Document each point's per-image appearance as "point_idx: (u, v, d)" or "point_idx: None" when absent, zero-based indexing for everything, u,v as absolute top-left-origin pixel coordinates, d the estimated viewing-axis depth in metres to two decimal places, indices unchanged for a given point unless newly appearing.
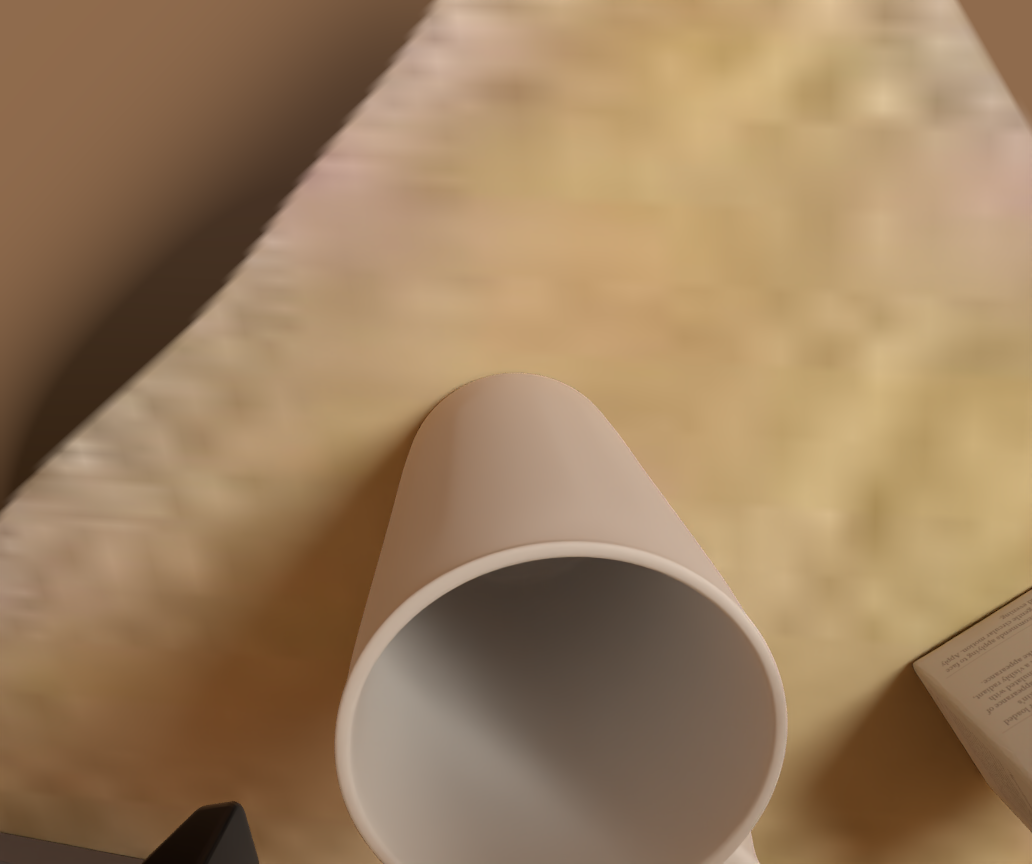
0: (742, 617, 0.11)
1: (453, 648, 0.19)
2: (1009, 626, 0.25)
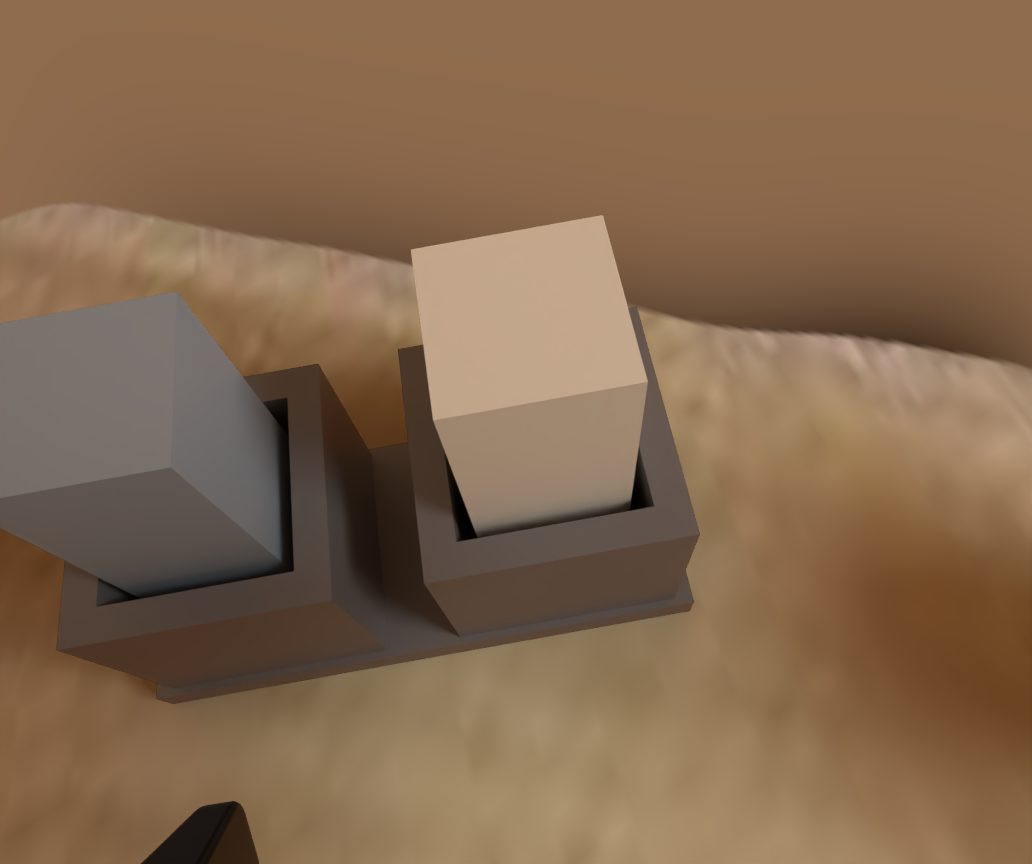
0: None
1: None
2: None
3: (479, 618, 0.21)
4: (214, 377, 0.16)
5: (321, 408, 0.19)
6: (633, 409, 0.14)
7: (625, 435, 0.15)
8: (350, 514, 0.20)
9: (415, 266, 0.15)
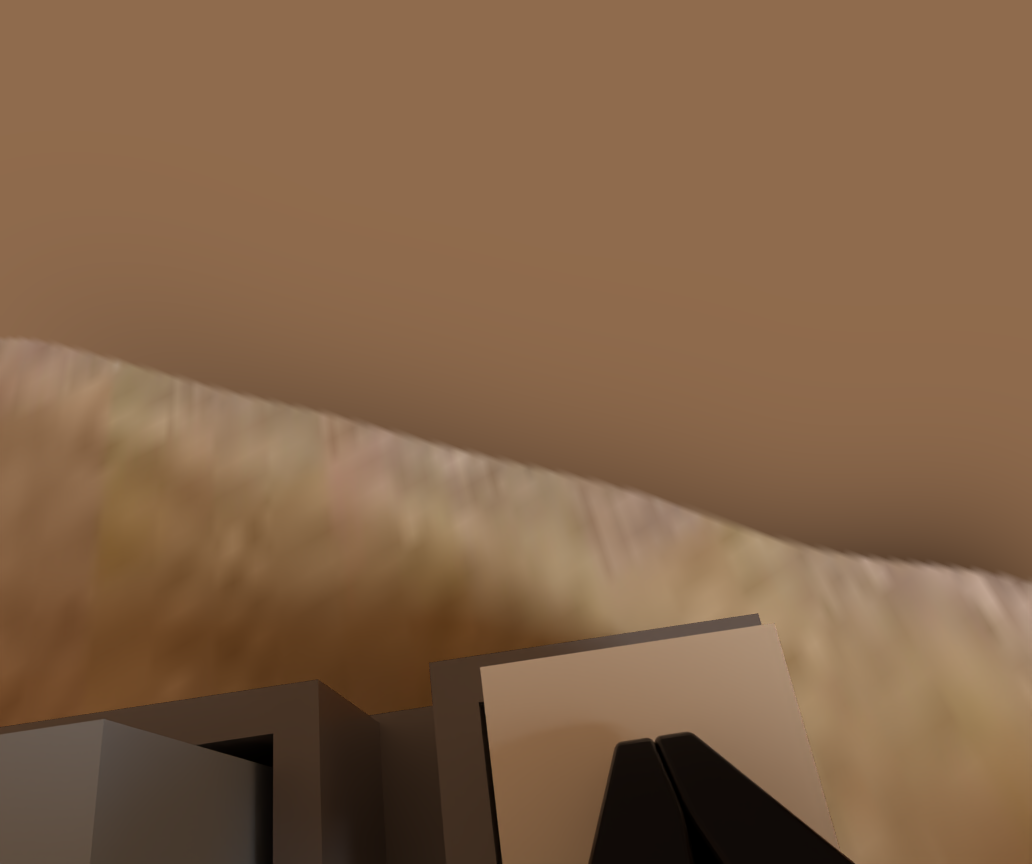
0: None
1: None
2: None
3: None
4: (162, 808, 0.10)
5: (320, 753, 0.14)
6: None
7: None
8: None
9: (487, 701, 0.09)
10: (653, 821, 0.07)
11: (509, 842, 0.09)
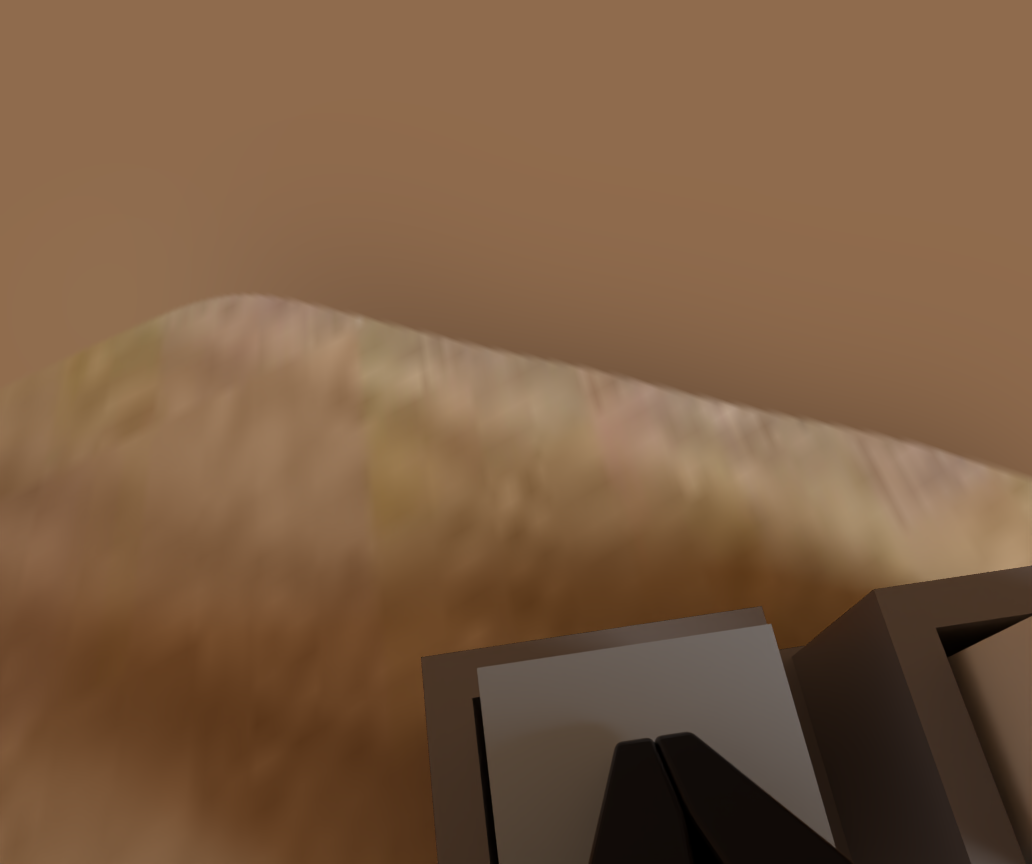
0: None
1: None
2: None
3: None
4: None
5: None
6: None
7: None
8: None
9: None
10: (653, 821, 0.07)
11: None
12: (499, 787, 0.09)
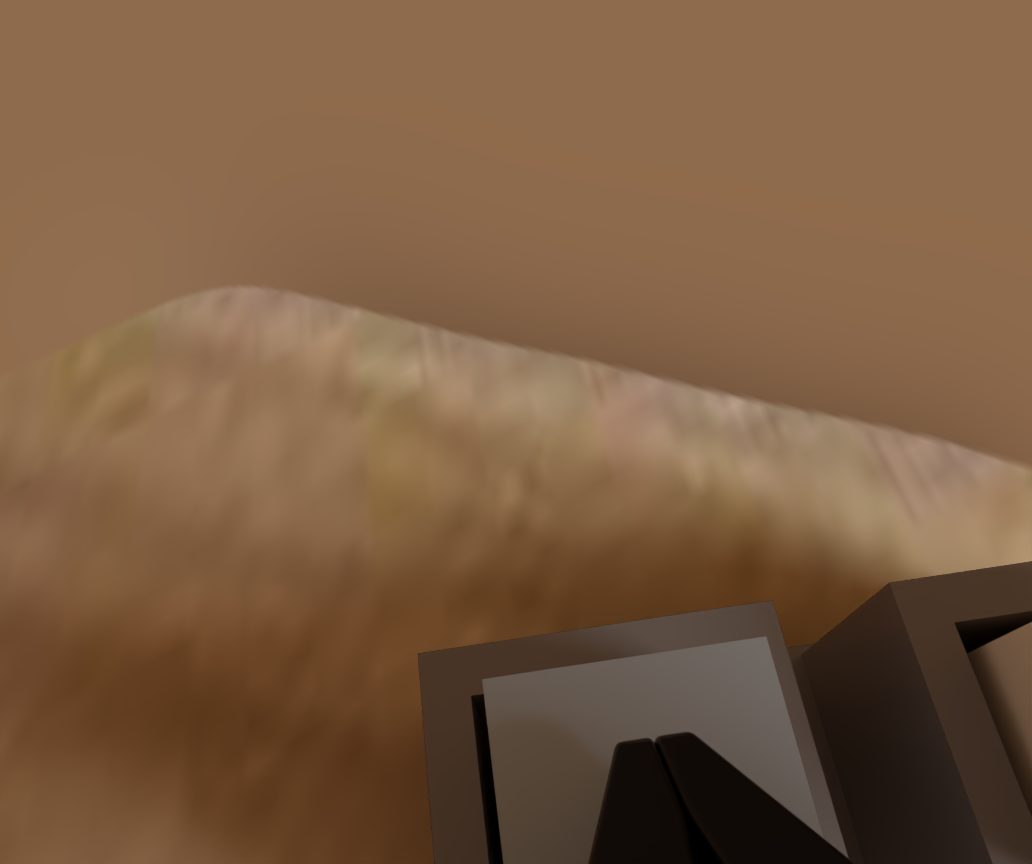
0: None
1: None
2: None
3: None
4: None
5: (793, 675, 0.13)
6: None
7: None
8: None
9: None
10: (653, 821, 0.07)
11: None
12: (504, 794, 0.09)
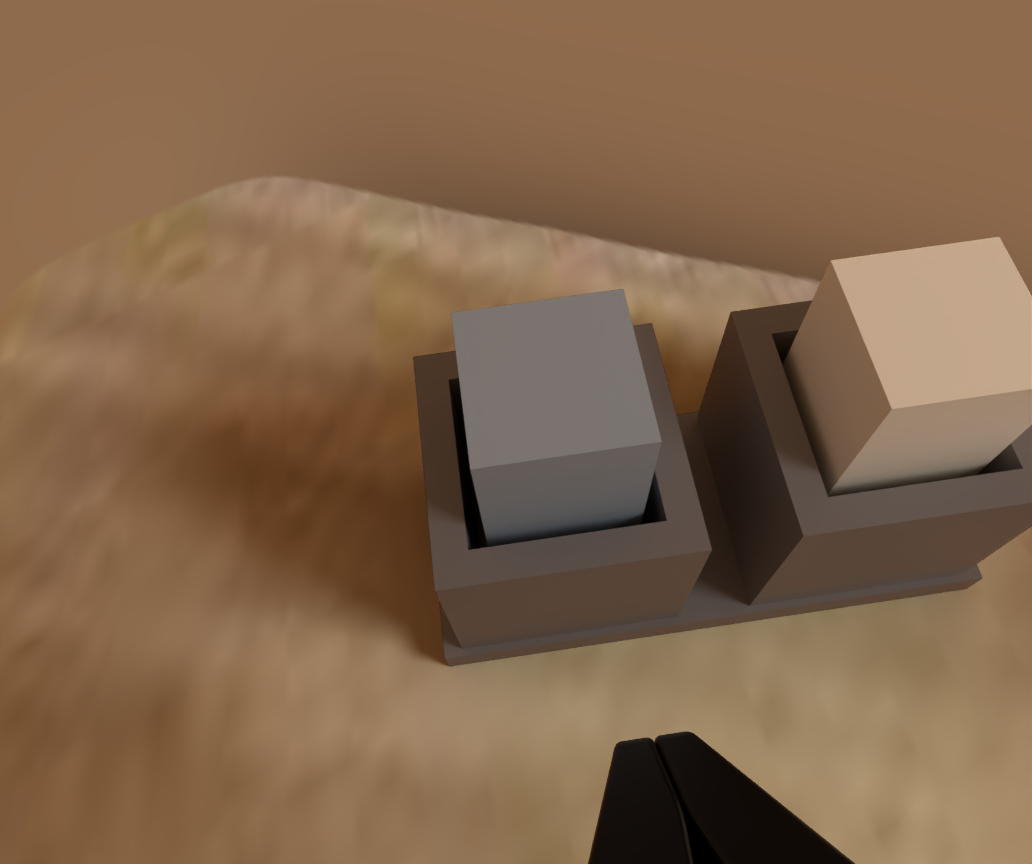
0: None
1: None
2: None
3: (791, 584, 0.21)
4: None
5: (662, 366, 0.20)
6: None
7: (1012, 432, 0.17)
8: None
9: (839, 275, 0.17)
10: (653, 821, 0.07)
11: (866, 334, 0.16)
12: (462, 366, 0.16)
